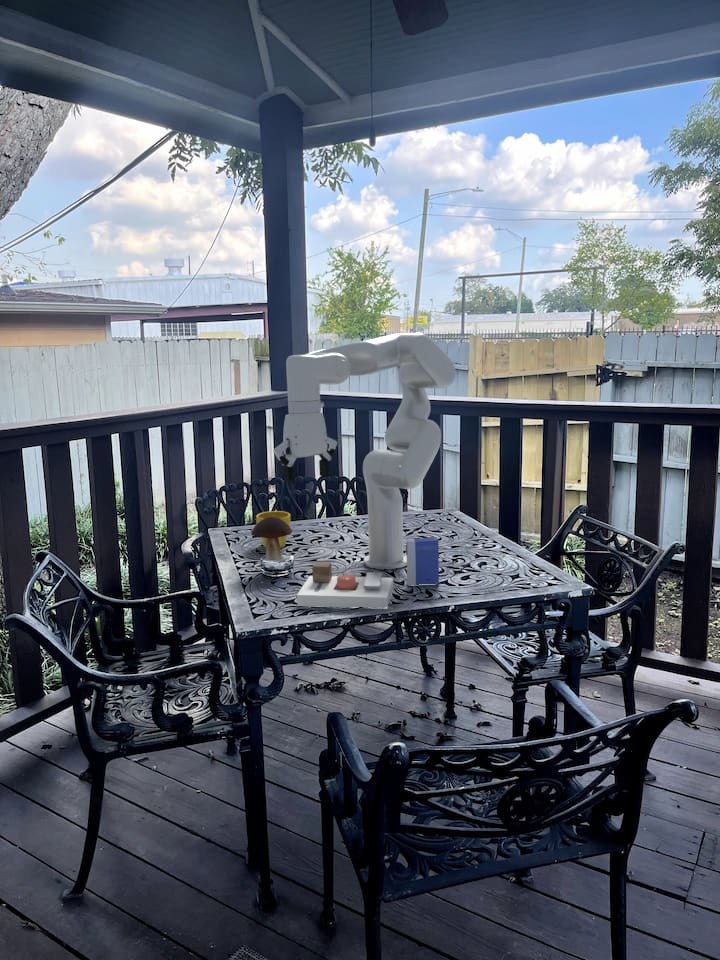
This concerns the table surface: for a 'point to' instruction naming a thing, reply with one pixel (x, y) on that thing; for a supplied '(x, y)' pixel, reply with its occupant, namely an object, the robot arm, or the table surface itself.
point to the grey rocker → (373, 580)
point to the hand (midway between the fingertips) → (307, 479)
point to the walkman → (422, 561)
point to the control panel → (344, 594)
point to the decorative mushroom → (272, 535)
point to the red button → (346, 582)
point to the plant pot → (279, 514)
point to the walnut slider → (322, 572)
